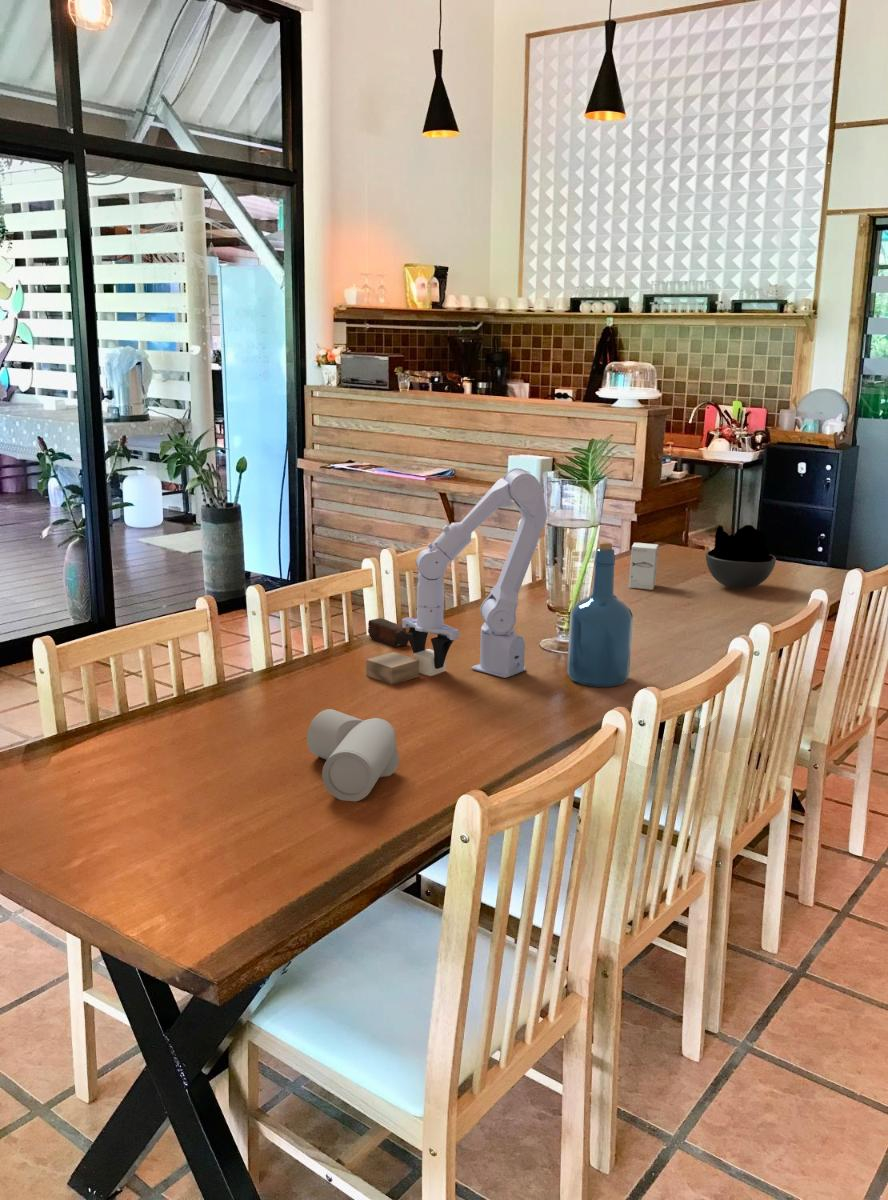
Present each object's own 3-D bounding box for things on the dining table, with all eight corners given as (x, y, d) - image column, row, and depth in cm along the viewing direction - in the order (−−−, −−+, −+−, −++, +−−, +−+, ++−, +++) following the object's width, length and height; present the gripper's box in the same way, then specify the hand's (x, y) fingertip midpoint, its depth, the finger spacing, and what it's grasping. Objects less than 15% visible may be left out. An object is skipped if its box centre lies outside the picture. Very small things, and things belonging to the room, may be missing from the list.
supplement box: (627, 588, 305) (630, 546, 302) (631, 582, 312) (633, 541, 309) (653, 590, 303) (656, 548, 300) (655, 585, 310) (658, 543, 307)
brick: (367, 638, 250) (367, 620, 249) (380, 635, 253) (380, 617, 251) (396, 649, 242) (396, 629, 241) (408, 645, 245) (409, 626, 244)
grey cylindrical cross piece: (435, 769, 172) (351, 738, 185) (426, 715, 168) (341, 686, 181) (360, 825, 161) (276, 787, 173) (349, 768, 156) (264, 734, 169)
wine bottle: (627, 691, 216) (637, 550, 208) (564, 686, 218) (571, 546, 211) (629, 671, 229) (638, 538, 221) (569, 666, 231) (576, 534, 224)
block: (445, 670, 227) (445, 653, 226) (430, 676, 223) (430, 658, 222) (428, 666, 230) (428, 648, 229) (413, 671, 226) (413, 653, 225)
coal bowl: (780, 587, 311) (786, 525, 306) (762, 600, 294) (768, 535, 290) (715, 577, 321) (720, 518, 316) (693, 590, 304) (699, 527, 300)
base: (418, 677, 223) (419, 659, 222) (391, 686, 217) (392, 667, 216) (393, 669, 228) (393, 651, 227) (366, 677, 223) (366, 659, 222)
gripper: (392, 602, 224) (392, 661, 228) (444, 614, 215) (442, 676, 219) (414, 596, 229) (413, 654, 233) (465, 608, 220) (463, 668, 224)
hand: (429, 664), depth 226 cm, fingers closed on block, 5 cm apart
